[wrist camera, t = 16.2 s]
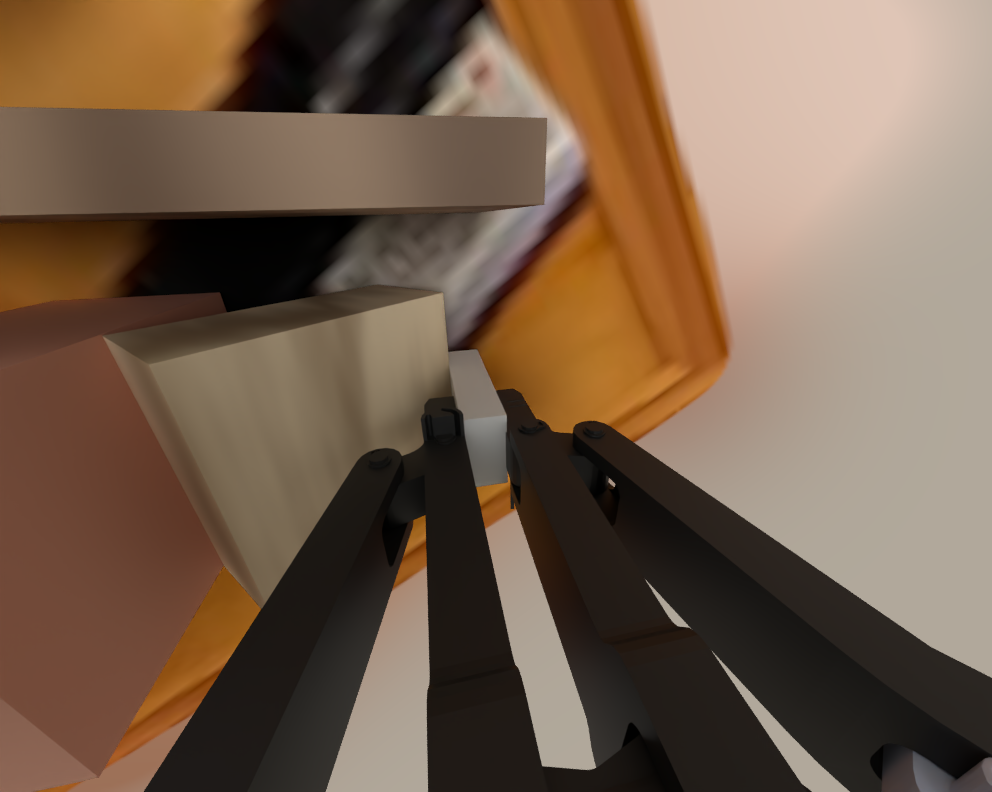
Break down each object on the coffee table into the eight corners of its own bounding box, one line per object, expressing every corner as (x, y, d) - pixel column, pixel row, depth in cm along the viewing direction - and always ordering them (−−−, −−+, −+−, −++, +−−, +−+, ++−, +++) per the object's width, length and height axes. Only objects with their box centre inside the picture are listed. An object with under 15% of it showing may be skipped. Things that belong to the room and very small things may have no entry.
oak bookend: (404, 450, 20) (224, 565, 14) (377, 284, 16) (102, 335, 10) (458, 475, 18) (276, 626, 11) (443, 292, 14) (148, 364, 7)
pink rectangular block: (155, 480, 18) (-227, 848, 8) (53, 300, 14) (-1073, 546, 4) (282, 465, 19) (98, 777, 8) (220, 292, 15) (-285, 469, 4)
